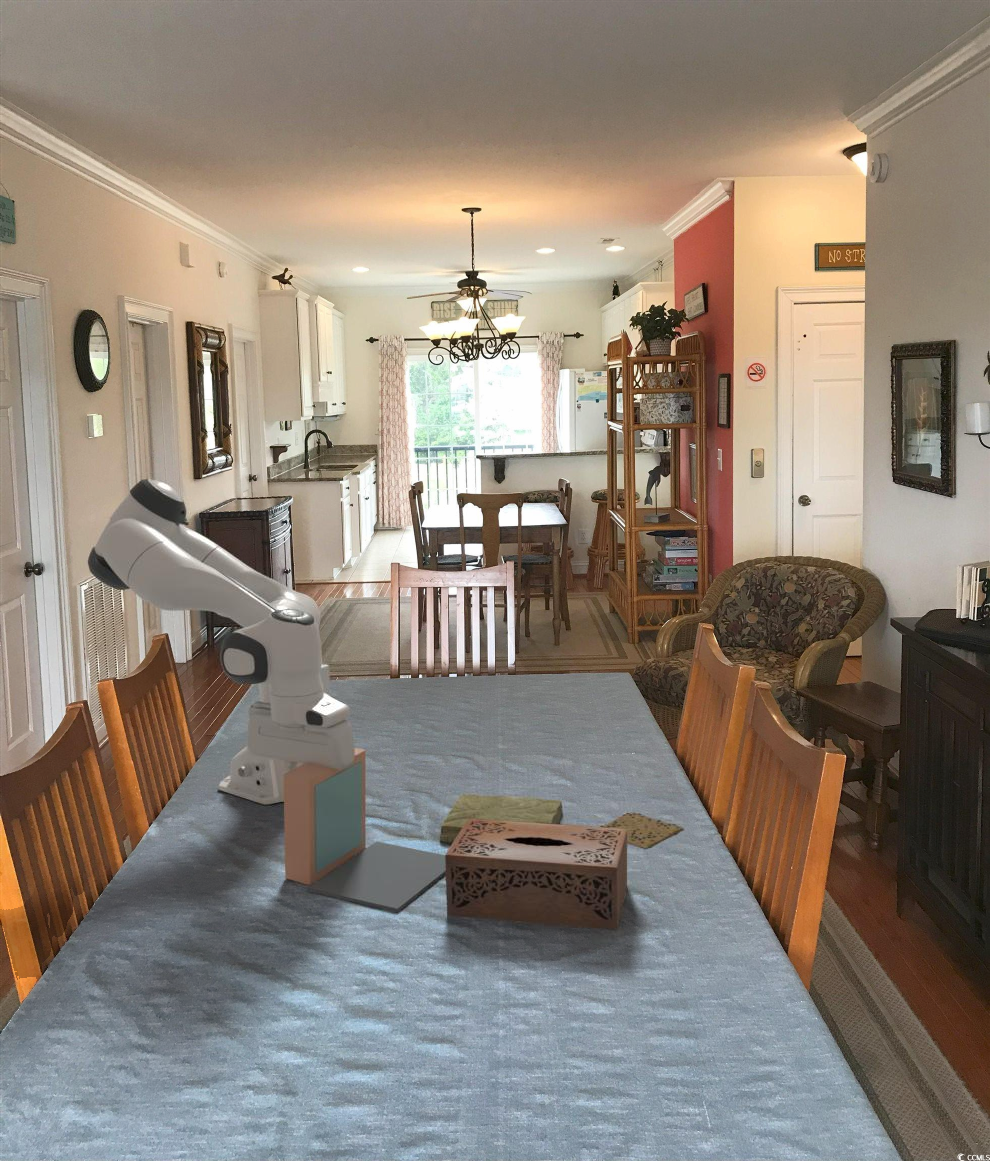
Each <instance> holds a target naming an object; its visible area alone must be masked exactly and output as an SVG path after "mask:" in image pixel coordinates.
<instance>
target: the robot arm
mask: <svg viewBox="0 0 990 1161" xmlns="http://www.w3.org/2000/svg"><path fill="white" fill-rule="evenodd" d="M189 523H190V520H189V518H188V517H187V508H186V504H185V501H184V499H183V498H182V497H181V495H180V494H179V493H178V492H177V491H176V489H174V488H173V487H172V486H171V485H169V484H167V483H165V482H162V481H159V480H155V479H152V478H145V479H140V481H138V482H137V483H136V484H135V485H134V486H132V487H131V489H130V490H129V494H128V495H127V496H126V497H125V498H124V499H123V501H122V502H121V503H120V504H119V505H118V507H117V508H116V509H115V510H114V512H113V514H111V516H110V518H109V521H108V522H107V524H106V525H105V527H104V529H103V531H102V533H101V534H100V535H99V538H98V540H97V542H96V544H95V546H93V547H92V548H91V551H90V553H89V556H88V560H87V565H88V568H89V572H90V573H91V574H92V576H94V577H95V578H96V579H97V580H98V581H99V582H100V583H101V584H102V585H105V586H107V587H109V588H113V589H115V590H118V591H126V590H131V591H132V592H133V593H134V594H136V596H138V597H139V598H140V599H141V600H143V601H144V602H146V603H147V604H150V606H153V607H155V608H157V609H159V610H163V611H170V612H171V611H172V612H173V611H203V612H204V611H205V612H213V613H215V614H217V615H218V616H219V617H224V618H229V619H231V621H234V622H235V623H236V624H238V625H240V627H241V628H239V629H236V630H235V631H233V632H230V633H228V634H227V635H226V636H225V637H224V639H223V640H222V641H221V645H220V647H219V648H220V651H219V660H220V664H221V668H222V670H223V672H224V673H225V675H226V676H227V677H228V678H229V679H230V680H231V681H232V682H234V683H236V684H238V685H244V686H245V685H246V686H247V685H257V684H258V692H259V700H260V701H259V700H257V701H255V702H254V703H252V704H251V705H250V706H249V708H248V710H247V712H248V723H247V732H246V733H247V734H246V746H245V747H244V748H242V750H240V751H239V752H237V753H236V754H235V755H234V756H233V758H232V760H231V762H230V769H229V775H228V776H226V777H225V778H224V779H222V780H221V781H220V782H219V784H218V791H222V792H225V793H228V794H230V795H233V796H237V797H240V798H243V799H246V800H248V801H251V802H255V803H258V804H261V805H272V804H276V803H281V802H283V803H284V774H285V773H287V772H289V771H291V770H293V769H295V768H297V767H299V766H301V765H303V764H305V763H311V764H315V765H320V766H324V767H329V768H333V769H338V770H341V769H343V768H345V767H347V766H349V765H350V764H351V763H352V762H353V760H354V758H355V748H356V747H355V739H354V732H353V728H352V725H351V724H350V722H349V721H348V720H347V719H349V718H350V716H351V709H350V706H348V705H347V704H345V703H343V702H341V701H339V700H337V699H336V698H333V697H332V696H331V697H330V696H329V695H327V694H326V693H323V683H322V681H321V677H320V670H321V666H322V664H323V655H322V654H323V653H322V642H321V635H320V630H319V628H320V625H321V617H322V616H321V610H320V607H319V605H318V603H317V601H315V600H314V598H312V597H310V596H309V595H307V594H304V593H302V592H299V591H296V590H294V589H293V588H290V587H288V586H287V585H285V584H283V583H281V582H279V581H277V580H275V579H274V578H270V577H269V576H267V575H264V574H262V573H261V572H258V571H257V570H255V569H253V568H252V567H250V566H249V565H247V564H246V563H244V562H243V561H242V560H240V559H238V558H237V557H235V556H234V554H231V553H230V552H228V551H227V550H226V549H224V548H223V547H221V546H220V545H219V544H217V543H215V542H214V541H212V540H211V539H209V538H208V537H206V536H204V535H202V534H201V533H198V532H197V531H195V530H193V529H190V528H188V526H189ZM186 526H187V527H186Z"/></svg>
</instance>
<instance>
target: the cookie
mask: <svg viewBox="0 0 990 1161" xmlns="http://www.w3.org/2000/svg"><path fill="white" fill-rule="evenodd" d="M599 827H606V828H620V829H627V845H632V846H634V847H637V848H640V849H643V850H648V849H650V848H653V846H656V845H658V844H659V843H662V842H664V840H666V839H669V838H670V837H671V838H672V836H675V835H677V834H678V833H680V832H682V831H684V830H685V828H684V827H682V826H679V825H677V824H674V823H670V822H665V821H662V820H661V819H656V818H653V817H649V816H646V815H643V814H642V813H636V812H635V811H634V812H633V811H632V812H627V813H625V814H623V815H621V816H619V817H617V818H616V819H614V820H612V821H611V822H608V823H605V824H603V825H600V826H599Z"/></svg>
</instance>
